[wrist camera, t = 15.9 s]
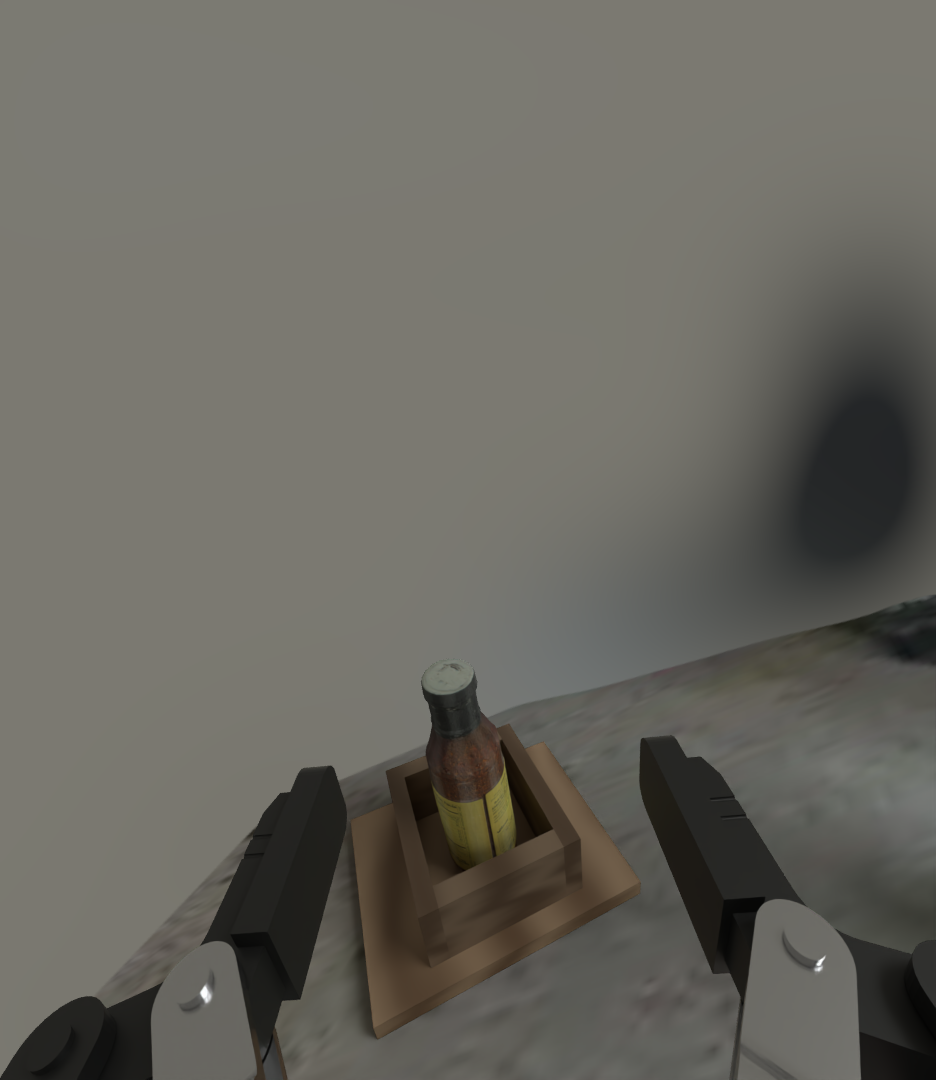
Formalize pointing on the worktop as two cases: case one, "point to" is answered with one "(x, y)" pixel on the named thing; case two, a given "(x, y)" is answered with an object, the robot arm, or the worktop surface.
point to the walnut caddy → (476, 884)
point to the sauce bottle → (466, 767)
